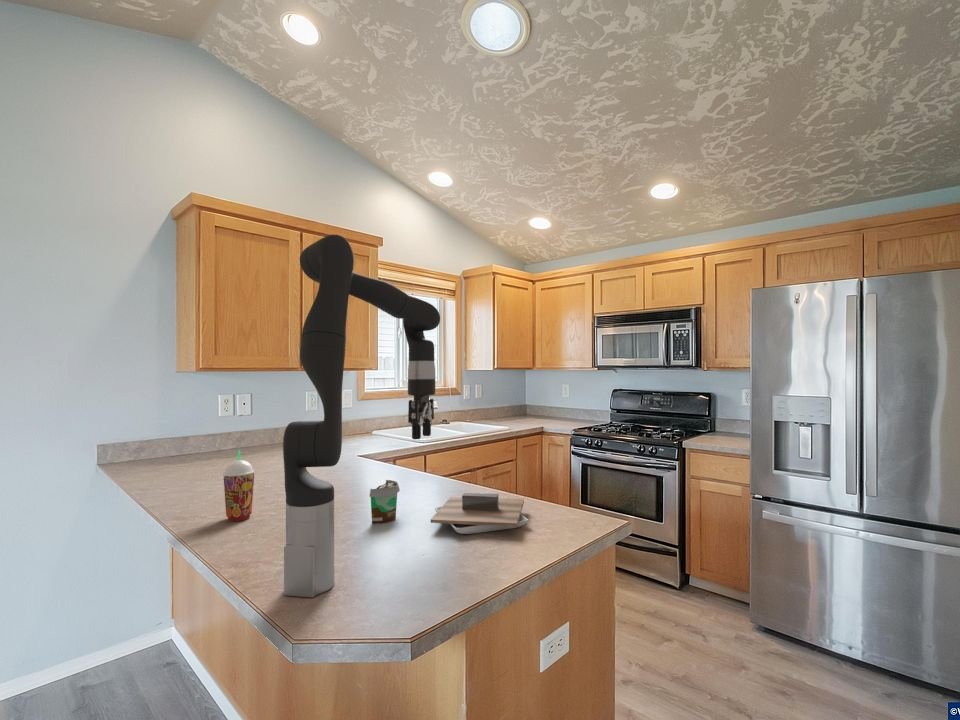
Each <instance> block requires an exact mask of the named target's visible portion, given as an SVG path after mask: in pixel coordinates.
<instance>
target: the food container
mask: <svg viewBox="0 0 960 720" xmlns="http://www.w3.org/2000/svg"><path fill="white" fill-rule="evenodd" d="M399 492H400V486H399V483H398V481H396V480H389V479H386V480H385V483H384V484H380V485H379V486H377V487H376V488H370V489H369V497H370V511H371V524H372V523H374V525H376V524H377V523H379V524H386V522H387V523H390V522H393V521H395V520H396V517H397V502H398V493H399ZM394 519H395V520H394Z"/></svg>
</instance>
